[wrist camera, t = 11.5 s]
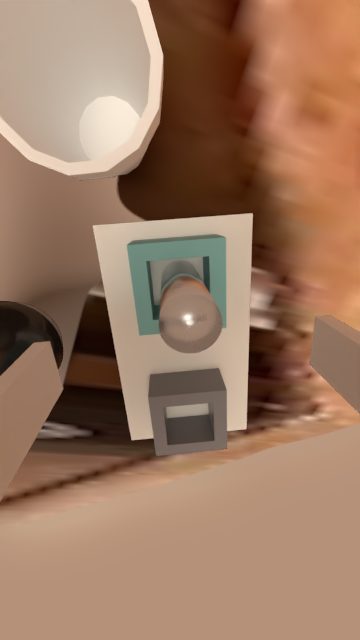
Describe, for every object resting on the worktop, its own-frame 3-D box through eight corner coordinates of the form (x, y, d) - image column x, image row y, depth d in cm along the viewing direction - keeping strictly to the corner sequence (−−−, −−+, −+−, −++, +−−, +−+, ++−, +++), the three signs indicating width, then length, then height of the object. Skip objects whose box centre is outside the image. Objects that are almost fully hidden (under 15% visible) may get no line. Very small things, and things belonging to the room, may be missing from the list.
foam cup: (158, 199, 27) (153, 187, 15) (64, 187, 26) (-21, 163, 14) (167, 83, 24) (171, -54, 12) (60, 64, 23) (-58, -106, 11)
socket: (142, 318, 30) (139, 335, 26) (132, 240, 27) (126, 245, 23) (217, 312, 30) (226, 328, 26) (216, 233, 27) (226, 237, 23)
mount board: (132, 432, 38) (127, 469, 32) (96, 224, 28) (78, 227, 22) (243, 421, 38) (256, 456, 33) (248, 213, 28) (269, 212, 22)
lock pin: (163, 297, 29) (162, 356, 17) (159, 261, 28) (155, 297, 16) (199, 294, 29) (222, 350, 17) (197, 258, 28) (222, 291, 16)
